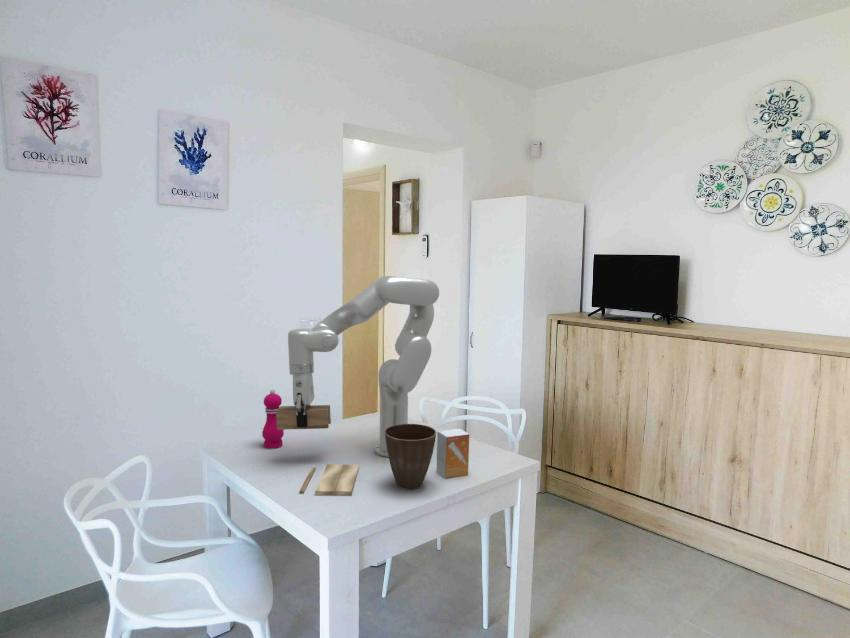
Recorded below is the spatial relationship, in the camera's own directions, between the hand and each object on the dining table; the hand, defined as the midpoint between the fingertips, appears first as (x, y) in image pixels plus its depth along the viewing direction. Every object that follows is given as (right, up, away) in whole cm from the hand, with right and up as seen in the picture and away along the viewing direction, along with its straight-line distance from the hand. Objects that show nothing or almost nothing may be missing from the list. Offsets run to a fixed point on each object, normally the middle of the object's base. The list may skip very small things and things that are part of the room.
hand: (304, 423), depth 176 cm
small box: (+47, -14, -6) cm, 50 cm away
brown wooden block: (0, -1, 0) cm, 1 cm away
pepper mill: (-14, -11, +16) cm, 24 cm away
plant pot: (+34, -15, -15) cm, 40 cm away
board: (+11, -14, -14) cm, 23 cm away
